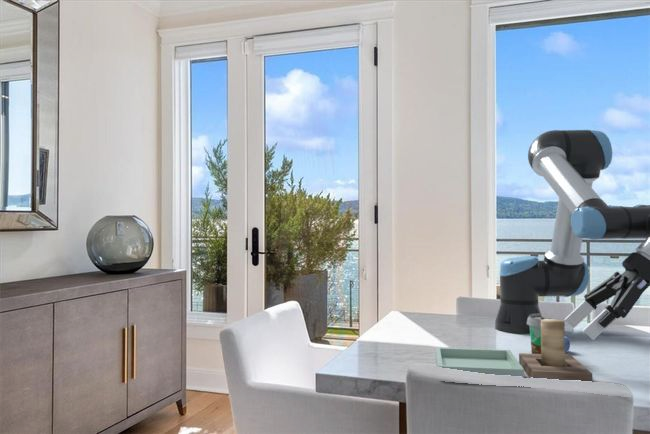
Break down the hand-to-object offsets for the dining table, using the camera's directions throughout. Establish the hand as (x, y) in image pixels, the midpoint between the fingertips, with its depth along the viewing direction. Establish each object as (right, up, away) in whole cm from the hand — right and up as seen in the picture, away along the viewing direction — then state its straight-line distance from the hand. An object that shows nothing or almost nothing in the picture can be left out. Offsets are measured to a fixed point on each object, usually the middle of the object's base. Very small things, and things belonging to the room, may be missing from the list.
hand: (577, 329), depth 119 cm
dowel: (-5, -11, +2) cm, 12 cm away
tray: (-22, -11, +5) cm, 25 cm away
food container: (-1, -11, +18) cm, 21 cm away
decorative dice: (+6, -11, +23) cm, 26 cm away
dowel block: (-5, -11, +2) cm, 12 cm away
